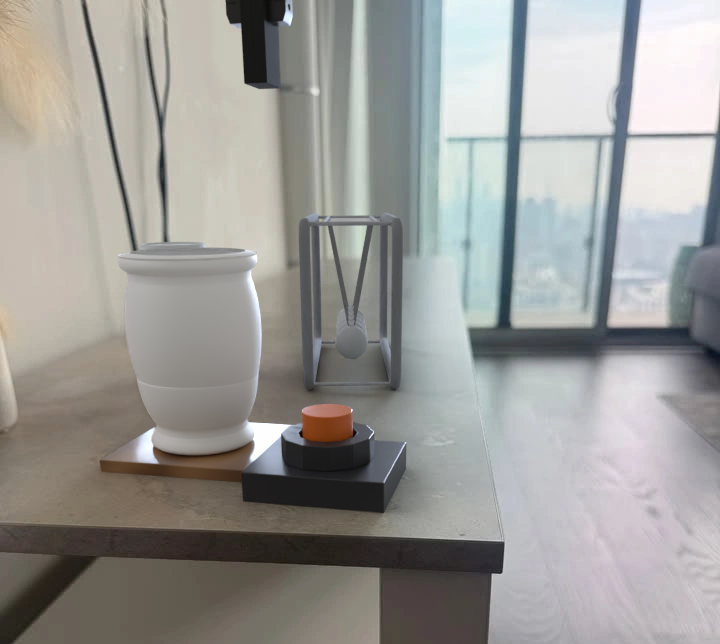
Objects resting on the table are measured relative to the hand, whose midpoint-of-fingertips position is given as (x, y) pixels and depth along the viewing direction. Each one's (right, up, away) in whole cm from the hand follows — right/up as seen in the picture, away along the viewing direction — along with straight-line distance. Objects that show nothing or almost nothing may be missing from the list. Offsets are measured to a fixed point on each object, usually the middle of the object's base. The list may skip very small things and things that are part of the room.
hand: (263, 85), depth 47 cm
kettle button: (+4, -22, +6) cm, 23 cm away
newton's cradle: (+5, -11, +47) cm, 48 cm away
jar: (-7, -22, +14) cm, 27 cm away
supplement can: (-15, -13, +41) cm, 46 cm away
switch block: (+4, -25, +8) cm, 27 cm away
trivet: (-7, -23, +15) cm, 28 cm away
